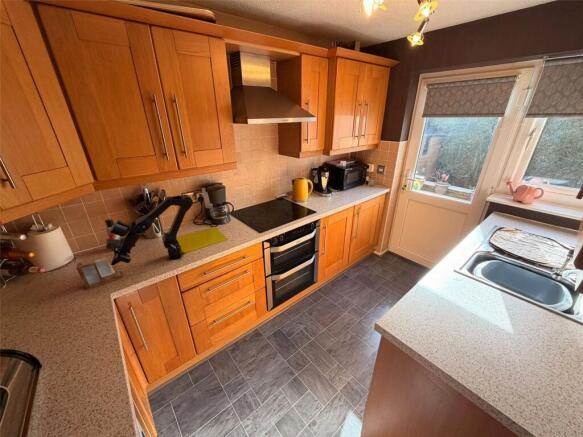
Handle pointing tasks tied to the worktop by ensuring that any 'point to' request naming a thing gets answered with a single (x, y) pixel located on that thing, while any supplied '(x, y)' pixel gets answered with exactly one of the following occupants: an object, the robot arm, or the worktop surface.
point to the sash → (104, 267)
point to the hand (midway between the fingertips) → (111, 264)
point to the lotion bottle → (109, 224)
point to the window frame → (94, 275)
